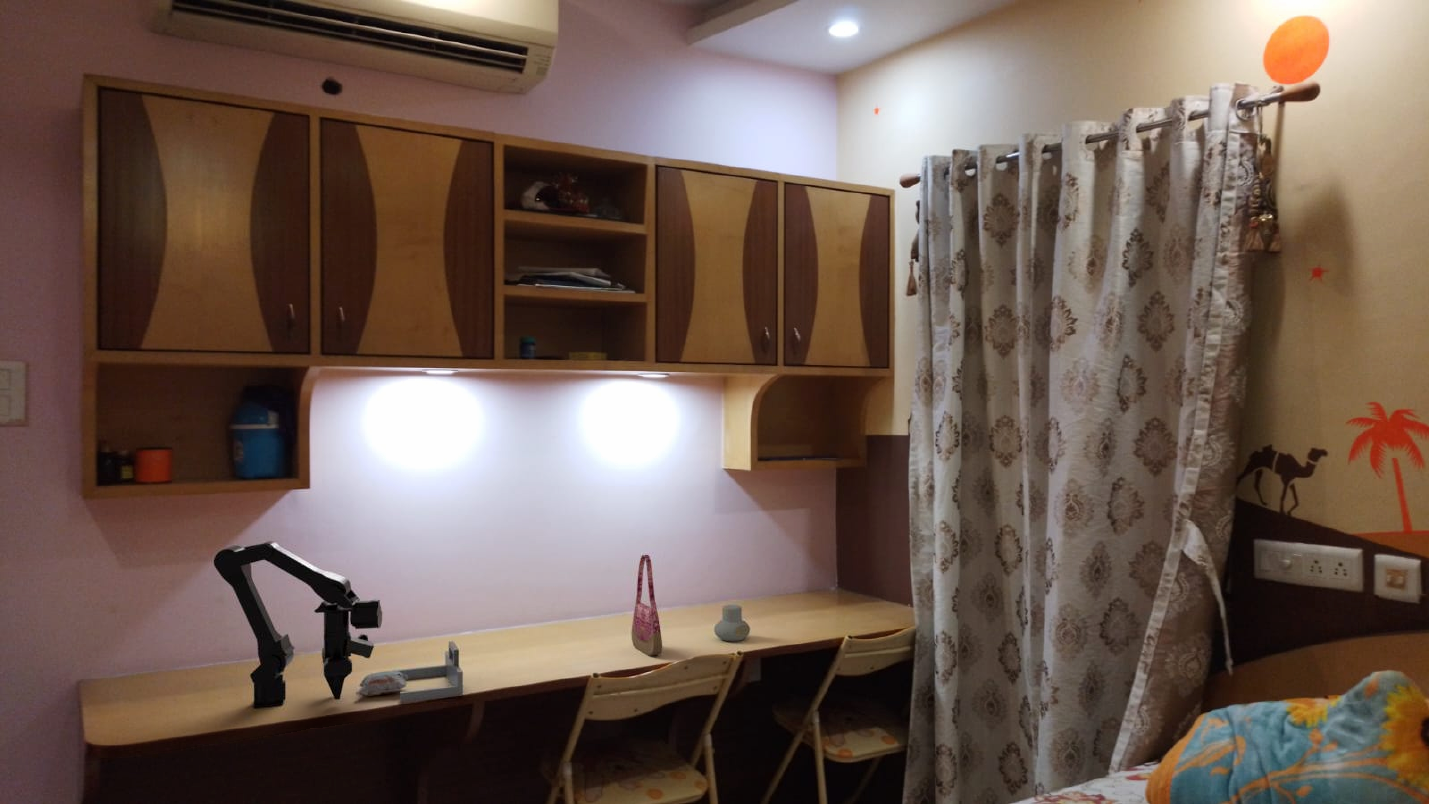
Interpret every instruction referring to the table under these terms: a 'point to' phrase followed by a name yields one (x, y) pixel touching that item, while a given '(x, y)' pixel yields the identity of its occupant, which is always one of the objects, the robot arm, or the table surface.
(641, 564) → the shoulder bag
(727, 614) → the air freshener
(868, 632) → the table surface
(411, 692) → the grey u-shaped frame
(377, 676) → the packaged food
